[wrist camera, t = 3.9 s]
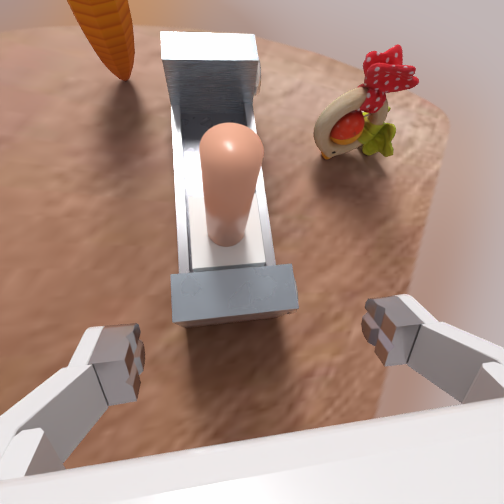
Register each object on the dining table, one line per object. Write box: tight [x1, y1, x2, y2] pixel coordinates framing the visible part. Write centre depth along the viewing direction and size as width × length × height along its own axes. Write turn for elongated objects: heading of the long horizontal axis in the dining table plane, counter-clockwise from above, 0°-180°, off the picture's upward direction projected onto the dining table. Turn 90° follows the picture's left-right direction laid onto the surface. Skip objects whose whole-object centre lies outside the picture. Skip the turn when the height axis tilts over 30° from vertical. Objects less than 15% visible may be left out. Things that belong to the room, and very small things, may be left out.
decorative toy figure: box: [314, 45, 419, 159], centre depth 28 cm, size 6×11×9 cm
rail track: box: [161, 32, 299, 328], centre depth 25 cm, size 8×24×8 cm, turn 7°
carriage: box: [188, 123, 266, 272], centre depth 20 cm, size 6×6×13 cm
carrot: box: [67, 0, 135, 81], centre depth 25 cm, size 5×5×15 cm
